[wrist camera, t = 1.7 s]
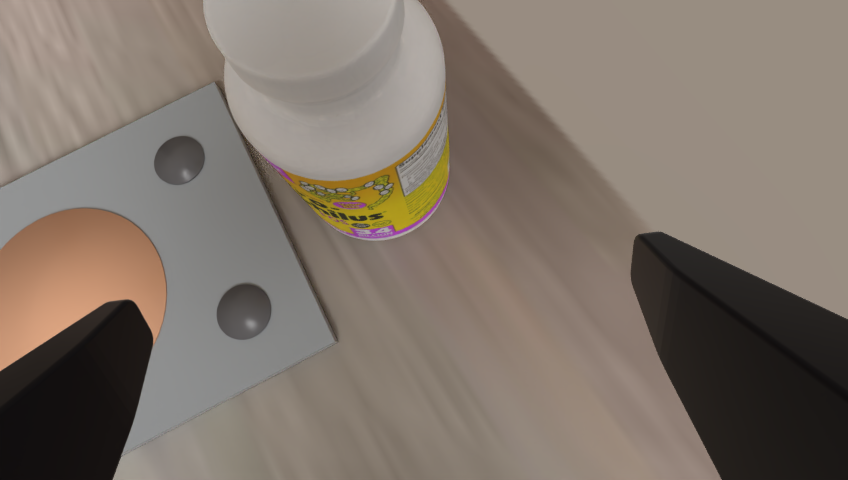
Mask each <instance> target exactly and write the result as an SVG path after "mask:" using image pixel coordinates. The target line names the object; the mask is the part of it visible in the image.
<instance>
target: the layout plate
mask: <svg viewBox="0 0 848 480" xmlns="http://www.w3.org/2000/svg"><path fill="white" fill-rule="evenodd" d="M124 299H129V300H132V301H134V302H135V303H136V304H137V306H138V308H139V309H140V311H141V313H142V315H143V317H144V318H145V320H146V322H147V324H148V326H149V327H150V329H151V331H152V334H153V348H152V352H151V356H150V360H149V364H148V368H147V372H146V376H145V380H144V384H143V388H142V392H141V396H140V400H139V404H138V408H137V412H136V415H135V419H134V422H133V425H132V428H131V431H130V434H129V436H128V439H127V442H126V445H125V447H124V450H123V453H122V455H121V456H123V455H125V454H127V453H129V452H131V451H132V450H134V449H136V448H138V447H140V446H142V445H144V444H146V443H148V442H150V441H151V440H153V439H155V438H157V437H159V436H161V435H163V434H165V433H167V432H169V431H170V430H172V429H174V428H176V427H178V426H180V425H182V424H184V423H186V422H188V421H189V420H191V419H193V418H195V417H197V416H199V415H201V414H203V413H205V412H207V411H208V410H210V409H212V408H214V407H216V406H218V405H220V404H222V403H224V402H226V401H228V400H229V399H231V398H233V397H235V396H237V395H239V394H241V393H243V392H245V391H247V390H248V389H250V388H252V387H254V386H256V385H258V384H260V383H262V382H264V381H266V380H267V379H269V378H271V377H273V376H275V375H277V374H279V373H281V372H283V371H285V370H286V369H288V368H290V367H292V366H294V365H296V364H298V363H300V362H302V361H304V360H305V359H307V358H309V357H311V356H313V355H315V354H317V353H319V352H321V351H323V350H324V349H326V348H328V347H330V346H332V345H334V344H336V343H338V341H337V339H336V337H335V335H334V332H333V330H332V328H331V326H330V324H329V322H328V320H327V317H326V315H325V313H324V311H323V309H322V307H321V305H320V302H319V300H318V298H317V296H316V294H315V292H314V290H313V287H312V285H311V283H310V281H309V279H308V277H307V275H306V272H305V270H304V268H303V266H302V264H301V262H300V259H299V257H298V255H297V253H296V251H295V249H294V247H293V244H292V242H291V240H290V238H289V236H288V234H287V232H286V229H285V227H284V225H283V223H282V221H281V219H280V217H279V214H278V212H277V210H276V208H275V206H274V204H273V202H272V199H271V197H270V195H269V193H268V191H267V189H266V187H265V184H264V182H263V180H262V178H261V176H260V174H259V171H258V169H257V167H256V165H255V163H254V161H253V159H252V156H251V154H250V152H249V150H248V148H247V146H246V144H245V141H244V139H243V137H242V135H241V133H240V131H239V129H238V126H237V124H236V122H235V120H234V118H233V116H232V114H231V111H230V109H229V107H228V105H227V103H226V101H225V98H224V96H223V94H222V92H221V90H220V88H219V87H218V86H217V84H216V83H215V82H213V83H211V84H209V85H207V86H205V87H203V88H201V89H199V90H197V91H195V92H193V93H191V94H189V95H187V96H185V97H183V98H181V99H178V100H176V101H174V102H172V103H170V104H168V105H166V106H164V107H162V108H160V109H158V110H156V111H154V112H152V113H150V114H148V115H146V116H144V117H142V118H140V119H138V120H136V121H134V122H132V123H130V124H128V125H126V126H124V127H122V128H120V129H118V130H116V131H114V132H112V133H110V134H108V135H106V136H104V137H102V138H100V139H98V140H96V141H94V142H92V143H90V144H88V145H86V146H84V147H82V148H80V149H78V150H76V151H74V152H72V153H70V154H68V155H66V156H64V157H62V158H60V159H58V160H56V161H54V162H52V163H50V164H48V165H46V166H44V167H42V168H40V169H38V170H36V171H34V172H31V173H29V174H27V175H25V176H23V177H21V178H19V179H17V180H15V181H13V182H11V183H9V184H7V185H5V186H3V187H1V188H0V371H1V370H2V369H4V368H6V367H7V366H9V365H10V364H12V363H13V362H15V361H16V360H18V359H19V358H21V357H23V356H24V355H26V354H27V353H29V352H30V351H32V350H33V349H35V348H36V347H38V346H39V345H41V344H43V343H44V342H46V341H47V340H49V339H50V338H52V337H53V336H55V335H56V334H58V333H60V332H61V331H63V330H64V329H66V328H67V327H69V326H70V325H72V324H73V323H75V322H77V321H78V320H80V319H81V318H83V317H84V316H86V315H87V314H89V313H90V312H92V311H94V310H95V309H97V308H98V307H100V306H101V305H103V304H104V303H106V302H109V301H116V300H124Z"/></svg>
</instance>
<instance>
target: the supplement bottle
mask: <svg viewBox="0 0 848 480" xmlns="http://www.w3.org/2000/svg"><path fill="white" fill-rule="evenodd" d="M203 10H204V16H205V21H206V24H207V28H208V31H209V33H210V35H211V38H212V39H213V41H214V43H215V44H216V46H217V48H218V49H219V50H220V52H221V53H222V54H223V56H224V57H225V65H224V85H225V92H226V97H227V101H228V105H229V108H230V111H231V113H232V115H233V118H234V120H235V122H236V124H237V125H238V127H239V129H240V130H241V132H242V133H243V135H244V136H245V137H246V139H247V140H248V141H249V142H250V143H251V144H252V145H253V147H254V148H255V149H256V150H257V151H258V152H259V153H260V154H261V155H262V156H263V157H264V158H265V159H266V160H267V161H268V162H269V163H270V164H271V165H272V166H273V167H274V168H275V169H276V170H277V172H278V173H279V174H280V175H281V176H282V177H283V178H284V179H285V180H286V181H287V182H288V183H289V185H290V186H291V187H292V188H293V189H294V190H295V191H296V192H297V193H298V194H299V195H300V196H301V197H302V198H303V199H304V200H305V201H306V202H307V204H308V205H309V206H310V207H311V208H312V209H313V210H314V211H315V212H316V213H317V214H318V215H319V216H320V217H321V218H322V219H323V220H324V221H325V222H326V223H328V224H329V225H330V226H331V227H333V228H334V229H336V230H337V231H339V232H341V233H343V234H345V235H347V236H350V237H353V238H357V239H361V240H369V241H380V240H388V239H393V238H397V237H400V236H402V235H405V234H407V233H409V232H411V231H413V230H415V229H416V228H418V227H419V226H420V225H422V224H423V223H424V222H425V221H426V220H428V219H429V218H430V217H431V215H432V214H433V213H434V212H435V211H436V209H437V208H438V206H439V204H440V202H441V201H442V199H443V196H444V194H445V192H446V189H447V185H448V181H449V173H450V154H449V132H448V116H447V97H446V71H445V61H444V52H443V47H442V43H441V40H440V37H439V34H438V32H437V29H436V27H435V25H434V23H433V21H432V19H431V17H430V16H429V14H428V12H427V11H426V10H425V8H424V7H423V6H422V4H421V3H420V2H419V1H418V0H203Z"/></svg>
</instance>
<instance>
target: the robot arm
mask: <svg viewBox="0 0 848 480" xmlns="http://www.w3.org/2000/svg"><path fill="white" fill-rule="evenodd" d="M631 282H632V285H633V288H634V291H635V294H636V297H637V299H638V302H639V305H640V307H641V310H642V313H643V316H644V318H645V321H646V324H647V326H648V329H649V332H650V335H651V337H652V340H653V343H654V345H655V348H656V350H657V353H658V355H659V358H660V360H661V362H662V364H663V366H664V368H665V370H666V372H667V374H668V376H669V378H670V380H671V382H672V384H673V386H674V388H675V390H676V392H677V394H678V396H679V398H680V400H681V401H682V403H683V405H684V407H685V409H686V411H687V413H688V415H689V417H690V419H691V421H692V423H693V425H694V427H695V429H696V431H697V433H698V434H699V436H700V438H701V440H702V442H703V444H704V446H705V448H706V450H707V452H708V454H709V456H710V458H711V460H712V462H713V464H714V465H715V467H716V469H717V471H718V473H719V475H720V477H721V479H722V480H848V319H846V318H844V317H842V316H840V315H837V314H835V313H833V312H831V311H829V310H827V309H825V308H822V307H820V306H818V305H816V304H814V303H812V302H810V301H808V300H806V299H803V298H801V297H799V296H797V295H795V294H793V293H791V292H789V291H786V290H784V289H782V288H780V287H778V286H776V285H774V284H772V283H769V282H767V281H765V280H763V279H761V278H759V277H757V276H754V275H752V274H750V273H748V272H746V271H744V270H742V269H740V268H737V267H735V266H733V265H731V264H729V263H727V262H725V261H723V260H720V259H718V258H716V257H714V256H712V255H709V254H708V253H706V252H703V251H701V250H699V249H697V248H695V247H693V246H691V245H689V244H686V243H684V242H682V241H680V240H678V239H676V238H674V237H671V236H669V235H667V234H665V233H663V232H651V233H643V234H638V235H637V236H636V237H635V240H634V245H633V254H632V264H631ZM152 348H153V334H152V331H151V329H150V327H149V326H148V324H147V322H146V320H145V318H144V317H143V315H142V313H141V311H140V309H139V308H138V306H137V304H136V303H135V302H134V301H132V300H129V299H124V300H116V301H109V302H106V303H104V304H103V305H101V306H100V307H98V308H97V309H95V310H94V311H92V312H90V313H89V314H87V315H86V316H84V317H83V318H81V319H80V320H78V321H77V322H75V323H73V324H72V325H70V326H69V327H67V328H66V329H64V330H63V331H61V332H60V333H58V334H56V335H55V336H53V337H52V338H50V339H49V340H47V341H46V342H44V343H43V344H41V345H39V346H38V347H36V348H35V349H33V350H32V351H30V352H29V353H27V354H26V355H24V356H23V357H21V358H19V359H18V360H16V361H15V362H13V363H12V364H10V365H9V366H7V367H6V368H4V369H2V370H1V371H0V480H113V477H114V474H115V472H116V469H117V466H118V464H119V461H120V458H121V455H122V453H123V450H124V447H125V445H126V442H127V439H128V436H129V434H130V431H131V428H132V425H133V422H134V419H135V415H136V412H137V408H138V404H139V400H140V396H141V392H142V388H143V384H144V380H145V376H146V372H147V368H148V364H149V360H150V356H151V352H152Z"/></svg>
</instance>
